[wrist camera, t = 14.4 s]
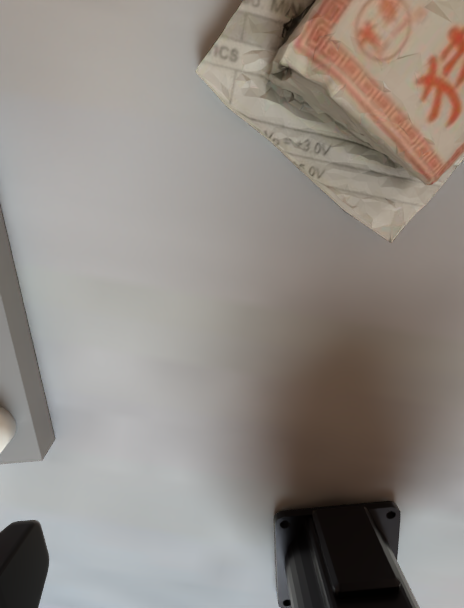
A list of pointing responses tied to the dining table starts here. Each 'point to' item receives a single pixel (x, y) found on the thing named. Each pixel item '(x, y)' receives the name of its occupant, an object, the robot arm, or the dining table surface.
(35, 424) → the breaker panel
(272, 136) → the packaged product
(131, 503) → the dining table surface
